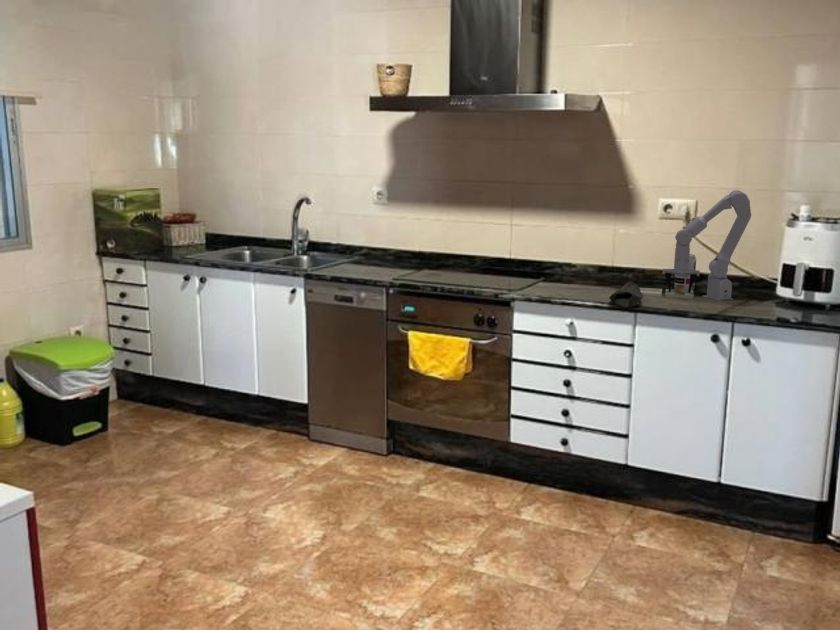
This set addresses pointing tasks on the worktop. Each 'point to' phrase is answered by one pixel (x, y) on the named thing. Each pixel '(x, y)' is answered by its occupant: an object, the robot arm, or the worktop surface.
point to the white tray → (651, 292)
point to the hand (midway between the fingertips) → (679, 291)
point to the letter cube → (679, 289)
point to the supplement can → (686, 278)
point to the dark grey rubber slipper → (627, 295)
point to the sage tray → (672, 295)
